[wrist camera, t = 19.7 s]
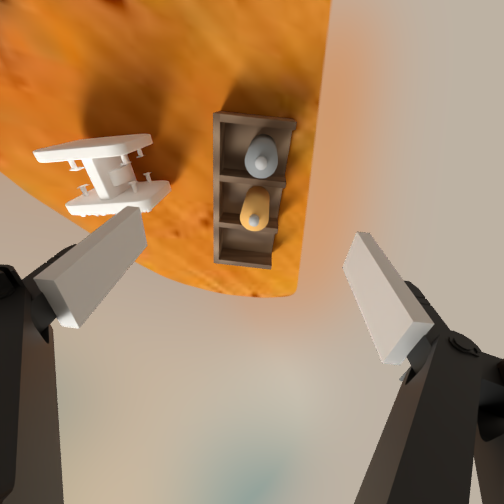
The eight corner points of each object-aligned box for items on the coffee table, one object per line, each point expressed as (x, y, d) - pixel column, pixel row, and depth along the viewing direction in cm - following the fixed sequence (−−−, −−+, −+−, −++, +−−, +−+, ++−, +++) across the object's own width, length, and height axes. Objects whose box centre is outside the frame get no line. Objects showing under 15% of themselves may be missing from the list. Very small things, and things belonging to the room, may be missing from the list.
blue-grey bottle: (248, 162, 41) (243, 179, 32) (250, 132, 38) (244, 144, 30) (274, 163, 40) (276, 182, 32) (277, 134, 38) (280, 146, 29)
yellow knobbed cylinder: (244, 207, 45) (237, 232, 37) (246, 184, 43) (240, 206, 34) (267, 210, 45) (266, 236, 37) (271, 187, 43) (270, 210, 34)
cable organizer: (159, 130, 40) (124, 141, 30) (176, 190, 46) (151, 215, 36) (80, 138, 42) (23, 151, 32) (106, 194, 47) (64, 219, 38)
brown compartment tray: (220, 110, 38) (213, 113, 33) (293, 118, 37) (296, 122, 33) (218, 248, 53) (213, 262, 48) (270, 254, 53) (270, 269, 48)
